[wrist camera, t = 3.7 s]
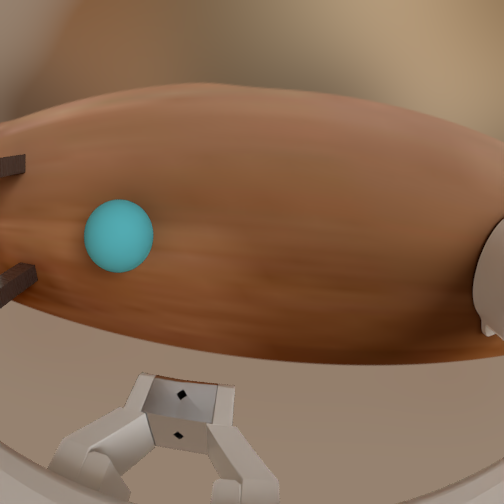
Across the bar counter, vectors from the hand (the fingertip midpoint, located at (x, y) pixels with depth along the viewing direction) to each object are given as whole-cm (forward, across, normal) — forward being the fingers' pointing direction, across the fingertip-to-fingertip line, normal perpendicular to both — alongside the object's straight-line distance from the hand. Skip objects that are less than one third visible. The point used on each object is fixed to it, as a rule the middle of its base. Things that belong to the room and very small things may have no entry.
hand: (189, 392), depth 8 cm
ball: (+15, +9, 0) cm, 17 cm away
